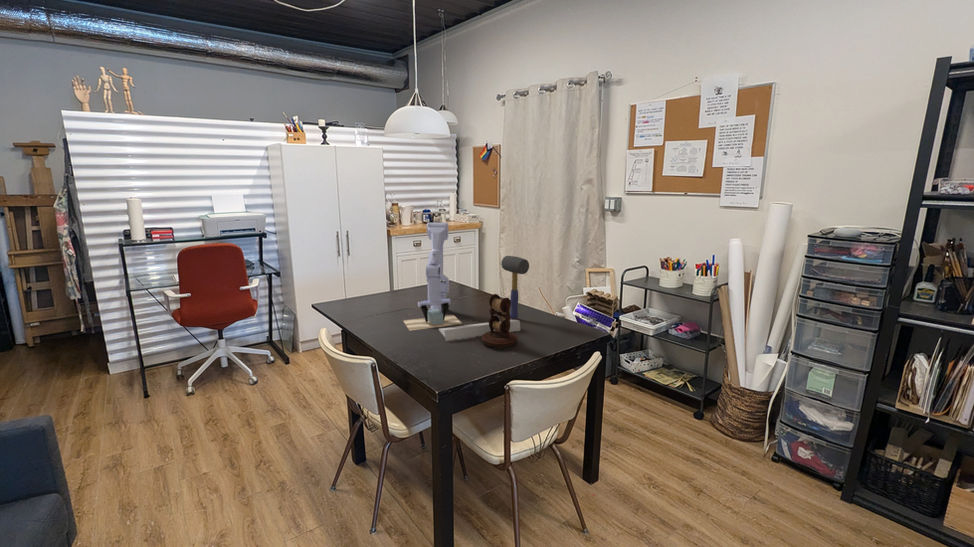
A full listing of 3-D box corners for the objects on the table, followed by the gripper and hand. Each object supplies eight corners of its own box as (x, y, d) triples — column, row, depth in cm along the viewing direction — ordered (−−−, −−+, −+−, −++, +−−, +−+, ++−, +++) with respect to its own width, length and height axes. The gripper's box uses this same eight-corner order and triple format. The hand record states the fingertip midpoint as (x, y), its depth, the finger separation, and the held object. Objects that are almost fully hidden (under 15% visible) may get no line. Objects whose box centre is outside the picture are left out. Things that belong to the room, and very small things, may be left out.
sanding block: (427, 320, 207) (427, 310, 206) (437, 319, 209) (436, 308, 208) (433, 325, 200) (433, 315, 199) (443, 324, 202) (443, 313, 201)
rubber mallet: (499, 317, 216) (500, 255, 209) (510, 314, 221) (511, 253, 214) (517, 324, 207) (519, 259, 200) (529, 320, 212) (530, 257, 205)
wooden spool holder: (525, 344, 184) (526, 296, 179) (497, 353, 175) (497, 303, 170) (501, 334, 195) (501, 289, 190) (473, 342, 186) (473, 294, 181)
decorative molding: (439, 339, 196) (445, 341, 186) (438, 328, 196) (444, 330, 187) (511, 330, 208) (520, 331, 199) (510, 319, 208) (519, 320, 199)
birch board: (403, 323, 207) (403, 320, 207) (453, 317, 215) (453, 314, 215) (409, 333, 194) (409, 330, 194) (462, 327, 203) (462, 324, 202)
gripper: (420, 295, 195) (421, 325, 199) (452, 292, 201) (452, 321, 204) (416, 291, 202) (417, 320, 205) (447, 288, 207) (448, 316, 210)
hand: (434, 320), depth 205 cm, fingers open, 7 cm apart
